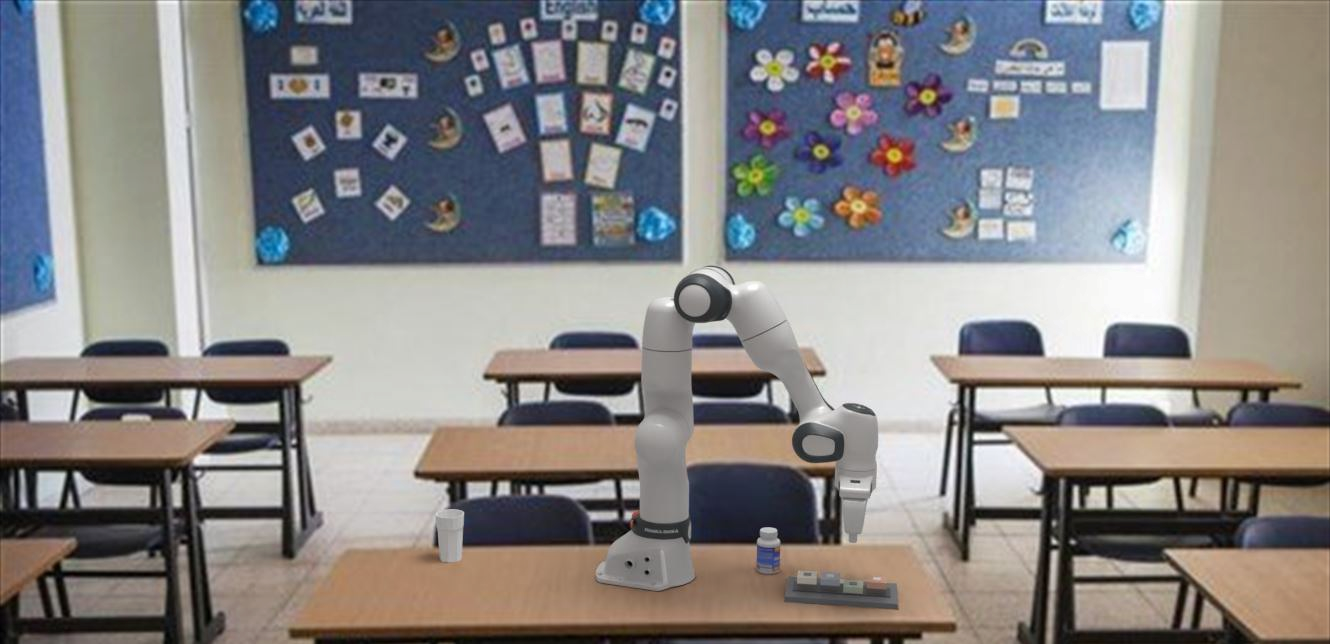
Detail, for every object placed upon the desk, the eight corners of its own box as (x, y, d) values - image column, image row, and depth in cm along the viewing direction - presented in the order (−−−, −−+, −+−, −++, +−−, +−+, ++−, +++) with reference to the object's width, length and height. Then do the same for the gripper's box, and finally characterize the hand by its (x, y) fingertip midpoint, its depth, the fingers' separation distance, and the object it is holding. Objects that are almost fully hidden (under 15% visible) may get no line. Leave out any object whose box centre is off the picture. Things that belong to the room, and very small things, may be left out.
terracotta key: (866, 588, 269) (867, 581, 269) (866, 581, 273) (867, 574, 273) (886, 589, 268) (886, 582, 268) (886, 582, 272) (886, 575, 272)
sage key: (843, 592, 270) (843, 586, 270) (843, 585, 274) (843, 579, 274) (862, 593, 269) (863, 587, 269) (862, 586, 273) (863, 580, 273)
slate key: (820, 584, 270) (820, 578, 270) (820, 577, 275) (821, 571, 274) (839, 586, 270) (839, 579, 270) (840, 579, 274) (840, 572, 274)
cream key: (797, 583, 271) (797, 576, 271) (798, 576, 275) (798, 569, 275) (816, 584, 271) (816, 578, 270) (817, 577, 275) (817, 571, 274)
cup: (462, 563, 289) (461, 518, 287) (434, 563, 289) (432, 518, 288) (467, 553, 296) (466, 509, 294) (439, 553, 296) (438, 509, 294)
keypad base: (784, 601, 268) (784, 594, 268) (788, 581, 280) (788, 574, 280) (897, 609, 264) (897, 602, 264) (896, 588, 276) (896, 582, 276)
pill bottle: (778, 575, 283) (779, 534, 282) (754, 573, 285) (755, 532, 283) (781, 567, 289) (782, 527, 287) (757, 565, 290) (758, 525, 288)
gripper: (841, 464, 278) (839, 524, 280) (839, 491, 258) (836, 555, 261) (870, 466, 277) (867, 526, 279) (870, 493, 257) (867, 557, 260)
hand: (852, 540), depth 270 cm, fingers closed
